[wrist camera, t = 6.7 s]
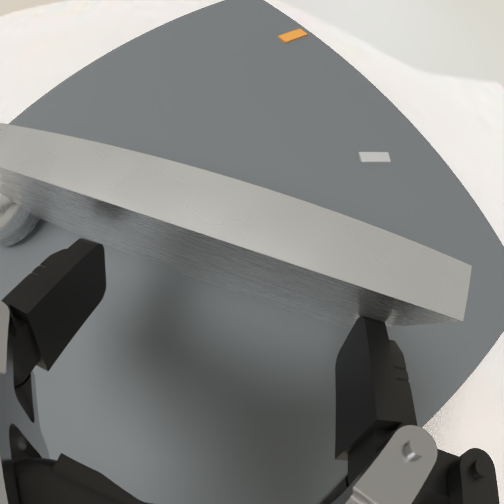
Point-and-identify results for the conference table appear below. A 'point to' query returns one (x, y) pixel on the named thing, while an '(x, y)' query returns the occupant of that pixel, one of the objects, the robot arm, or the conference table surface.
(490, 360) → the conference table surface
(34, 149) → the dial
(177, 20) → the dial plate
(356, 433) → the robot arm
